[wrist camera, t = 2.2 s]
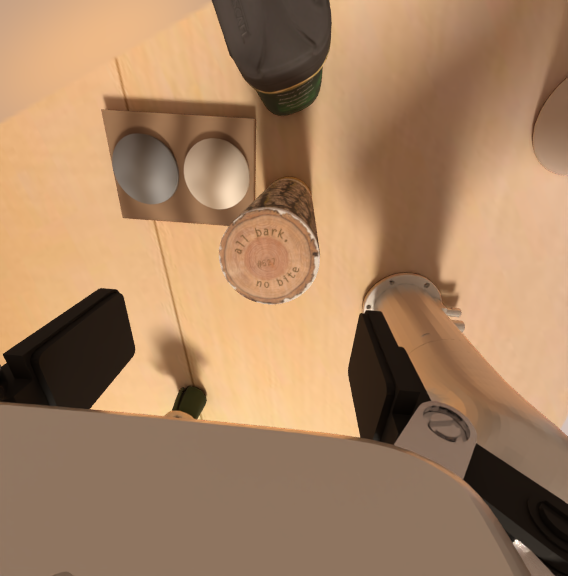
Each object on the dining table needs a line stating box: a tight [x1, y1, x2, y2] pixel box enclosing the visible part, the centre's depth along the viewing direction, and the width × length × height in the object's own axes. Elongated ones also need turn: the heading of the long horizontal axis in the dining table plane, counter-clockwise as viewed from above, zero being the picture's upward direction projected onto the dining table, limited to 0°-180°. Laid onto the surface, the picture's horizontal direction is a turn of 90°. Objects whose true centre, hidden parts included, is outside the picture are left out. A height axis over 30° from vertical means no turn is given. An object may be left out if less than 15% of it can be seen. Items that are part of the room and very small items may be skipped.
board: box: [101, 109, 256, 226], centre depth 39 cm, size 20×14×2 cm
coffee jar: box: [212, 0, 332, 116], centre depth 26 cm, size 10×8×19 cm
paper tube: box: [219, 177, 320, 304], centre depth 30 cm, size 7×7×25 cm
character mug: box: [165, 386, 207, 419], centre depth 54 cm, size 11×7×13 cm, turn 109°
